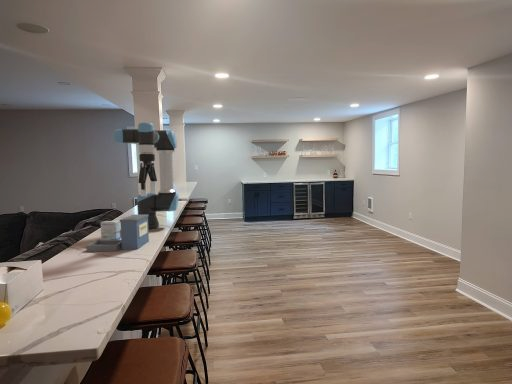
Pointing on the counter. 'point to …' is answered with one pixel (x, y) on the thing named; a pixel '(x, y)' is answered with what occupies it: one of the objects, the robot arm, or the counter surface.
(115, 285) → the counter surface
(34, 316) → the counter surface
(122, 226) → the housing unit
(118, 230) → the ink box
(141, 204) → the robot arm
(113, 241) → the tray
